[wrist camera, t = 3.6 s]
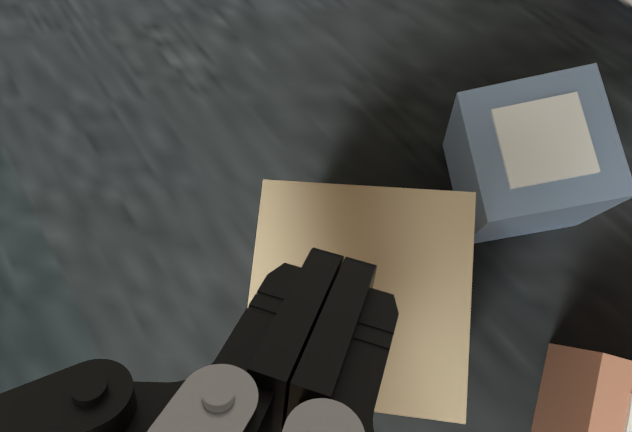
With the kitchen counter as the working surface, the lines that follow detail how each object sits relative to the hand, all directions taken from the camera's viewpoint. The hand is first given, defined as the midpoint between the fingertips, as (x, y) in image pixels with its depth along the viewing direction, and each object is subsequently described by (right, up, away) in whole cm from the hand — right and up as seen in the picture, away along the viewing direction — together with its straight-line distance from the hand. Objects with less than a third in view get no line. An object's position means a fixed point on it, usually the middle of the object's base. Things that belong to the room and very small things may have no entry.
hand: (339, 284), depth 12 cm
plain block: (+2, -2, +12) cm, 13 cm away
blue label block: (+8, +3, +12) cm, 15 cm away
